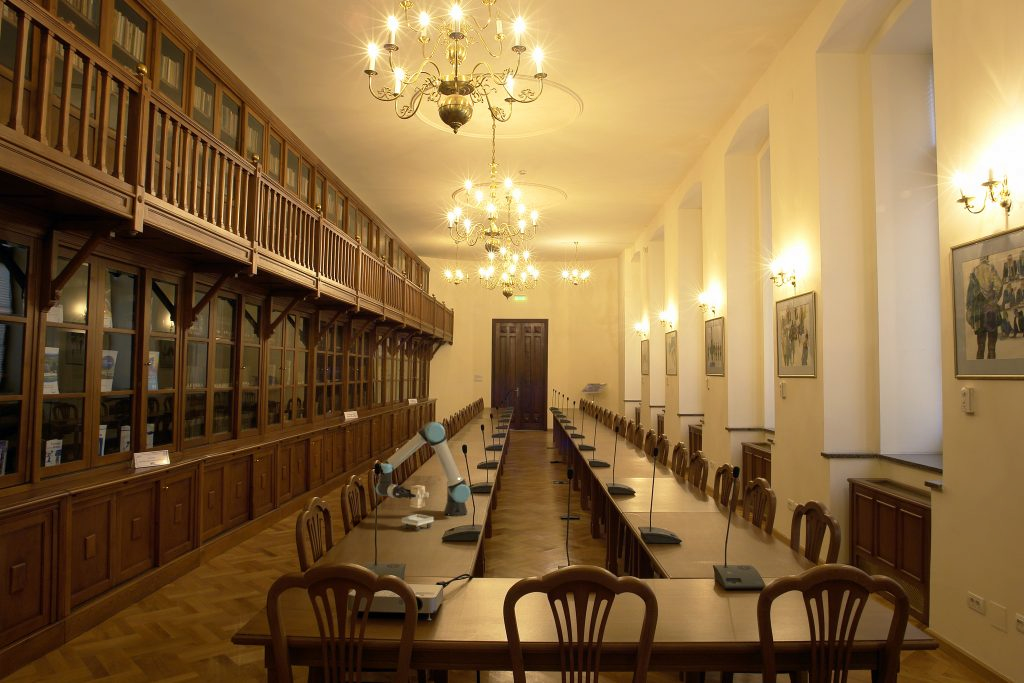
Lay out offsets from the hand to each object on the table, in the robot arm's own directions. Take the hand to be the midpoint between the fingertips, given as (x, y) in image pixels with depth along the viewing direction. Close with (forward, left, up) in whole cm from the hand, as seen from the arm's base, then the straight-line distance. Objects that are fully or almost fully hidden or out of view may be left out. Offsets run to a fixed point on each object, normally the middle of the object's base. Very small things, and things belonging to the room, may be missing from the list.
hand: (424, 495), depth 392 cm
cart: (0, -5, -20) cm, 20 cm away
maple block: (0, -5, -7) cm, 9 cm away
